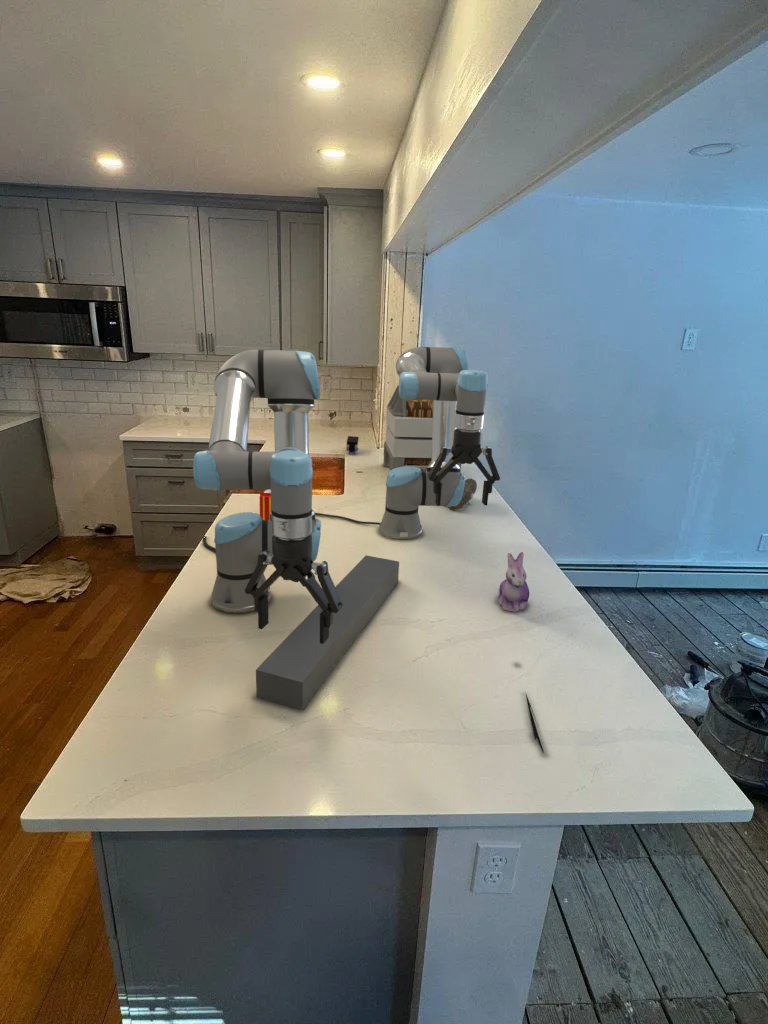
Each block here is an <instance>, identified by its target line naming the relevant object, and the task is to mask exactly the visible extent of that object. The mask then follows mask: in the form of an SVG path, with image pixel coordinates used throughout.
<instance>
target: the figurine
mask: <svg viewBox="0 0 768 1024" xmlns="http://www.w3.org/2000/svg"><path fill="white" fill-rule="evenodd" d="M506 556H507V569H506V571H505V579H504V580H502V581H501V583H500V585H499V591H498V592H499V593H498V597H497V598H498V600H497V601H498V604H499V605H500V606H501V607H502V609H503V610H505V611H507V612H508V611H509V612H518V611H520V610H521V611H522V610H524V609H525V608H526V607H527V605H528V601H529V599H530V588H529V585H528V584H527V581H526V580H527V571H526V570H525V567H524V552H523V551H520V552H519V553H518V555H517V557H516V559H515V557H514V556H513V554H512V553H511V552H508V553H507V555H506Z"/></svg>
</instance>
